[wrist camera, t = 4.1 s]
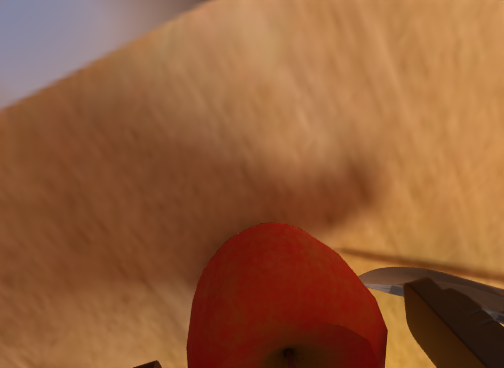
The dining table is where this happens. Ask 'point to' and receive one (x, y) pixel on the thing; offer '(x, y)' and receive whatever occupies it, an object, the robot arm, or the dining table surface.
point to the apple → (283, 306)
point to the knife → (393, 278)
